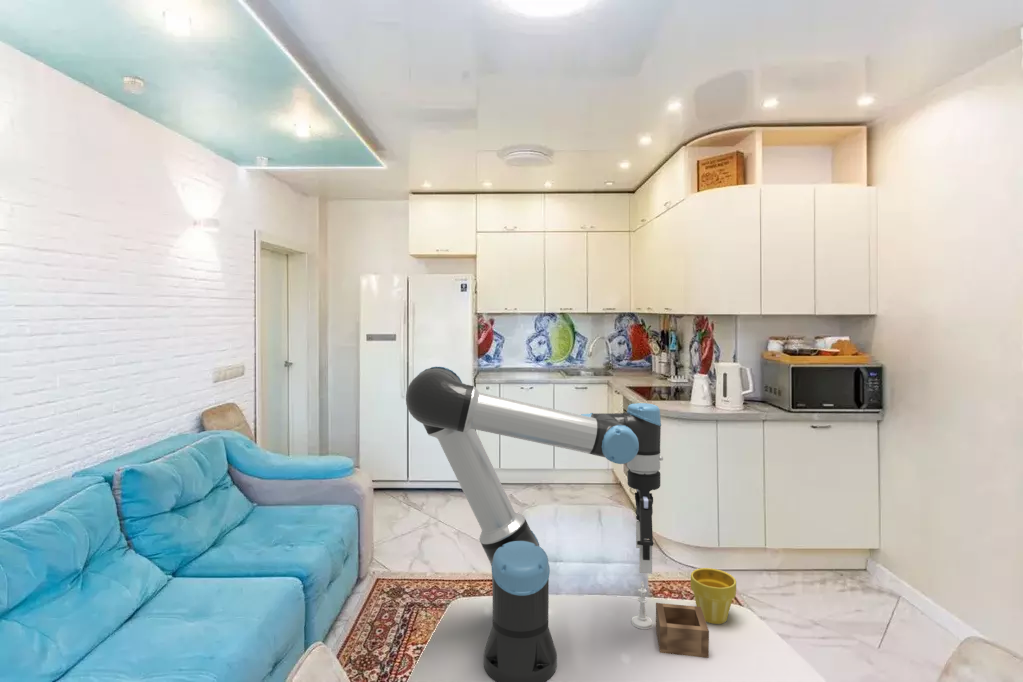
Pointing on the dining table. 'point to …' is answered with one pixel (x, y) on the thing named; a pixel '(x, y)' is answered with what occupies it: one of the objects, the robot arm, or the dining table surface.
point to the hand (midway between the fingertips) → (643, 559)
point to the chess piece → (642, 611)
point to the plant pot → (713, 593)
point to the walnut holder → (682, 630)
